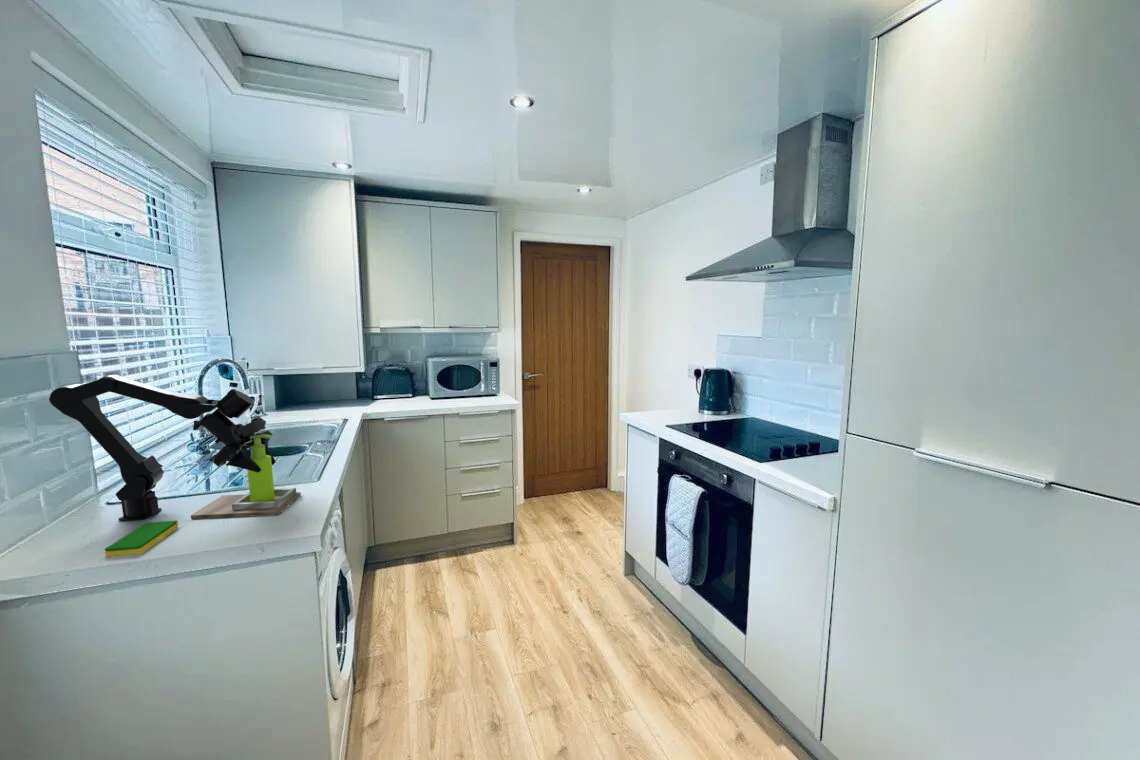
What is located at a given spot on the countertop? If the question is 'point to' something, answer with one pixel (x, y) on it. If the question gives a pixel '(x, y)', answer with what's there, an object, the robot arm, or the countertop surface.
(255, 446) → the soap dispenser
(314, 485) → the countertop surface
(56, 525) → the countertop surface
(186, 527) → the countertop surface
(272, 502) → the walnut holder board
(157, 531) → the dish sponge
